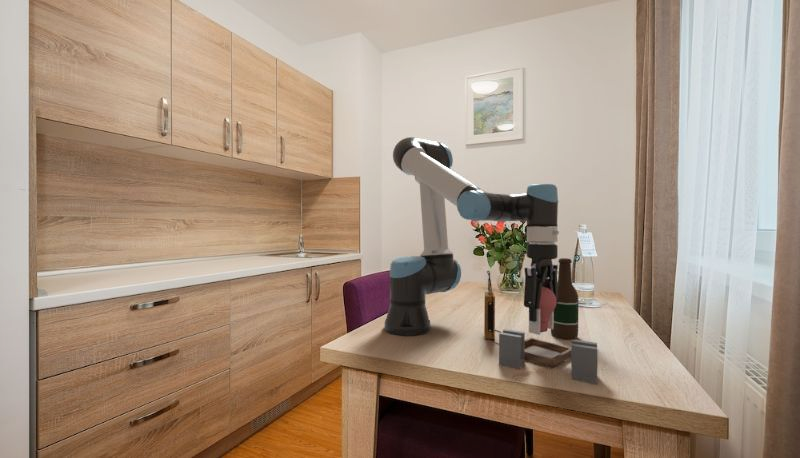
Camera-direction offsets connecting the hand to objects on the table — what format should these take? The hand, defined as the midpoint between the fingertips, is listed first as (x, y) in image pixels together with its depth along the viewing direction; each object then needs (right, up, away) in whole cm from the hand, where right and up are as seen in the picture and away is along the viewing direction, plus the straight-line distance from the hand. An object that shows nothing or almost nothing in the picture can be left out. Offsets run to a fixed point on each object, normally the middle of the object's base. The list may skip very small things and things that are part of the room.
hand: (541, 330), depth 92 cm
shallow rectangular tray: (0, -6, 0) cm, 6 cm away
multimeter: (-6, -7, +15) cm, 17 cm away
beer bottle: (+14, -7, +16) cm, 22 cm away
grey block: (-10, -6, -6) cm, 13 cm away
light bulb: (0, -1, 0) cm, 1 cm away
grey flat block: (+4, -7, -14) cm, 16 cm away
